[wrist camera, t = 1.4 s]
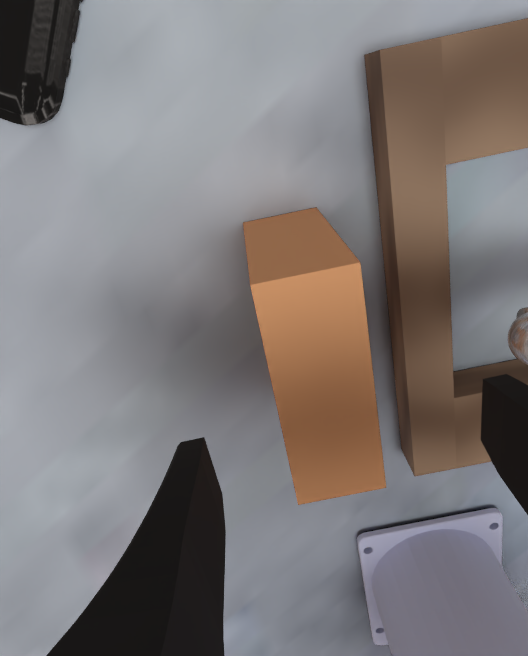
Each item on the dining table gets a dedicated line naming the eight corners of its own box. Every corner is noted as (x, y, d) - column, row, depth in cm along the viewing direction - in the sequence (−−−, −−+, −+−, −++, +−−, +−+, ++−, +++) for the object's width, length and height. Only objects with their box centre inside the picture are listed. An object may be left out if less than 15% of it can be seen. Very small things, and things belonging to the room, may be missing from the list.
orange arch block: (340, 375, 23) (386, 487, 17) (278, 388, 23) (298, 504, 17) (316, 207, 20) (360, 262, 13) (242, 222, 20) (250, 285, 13)
